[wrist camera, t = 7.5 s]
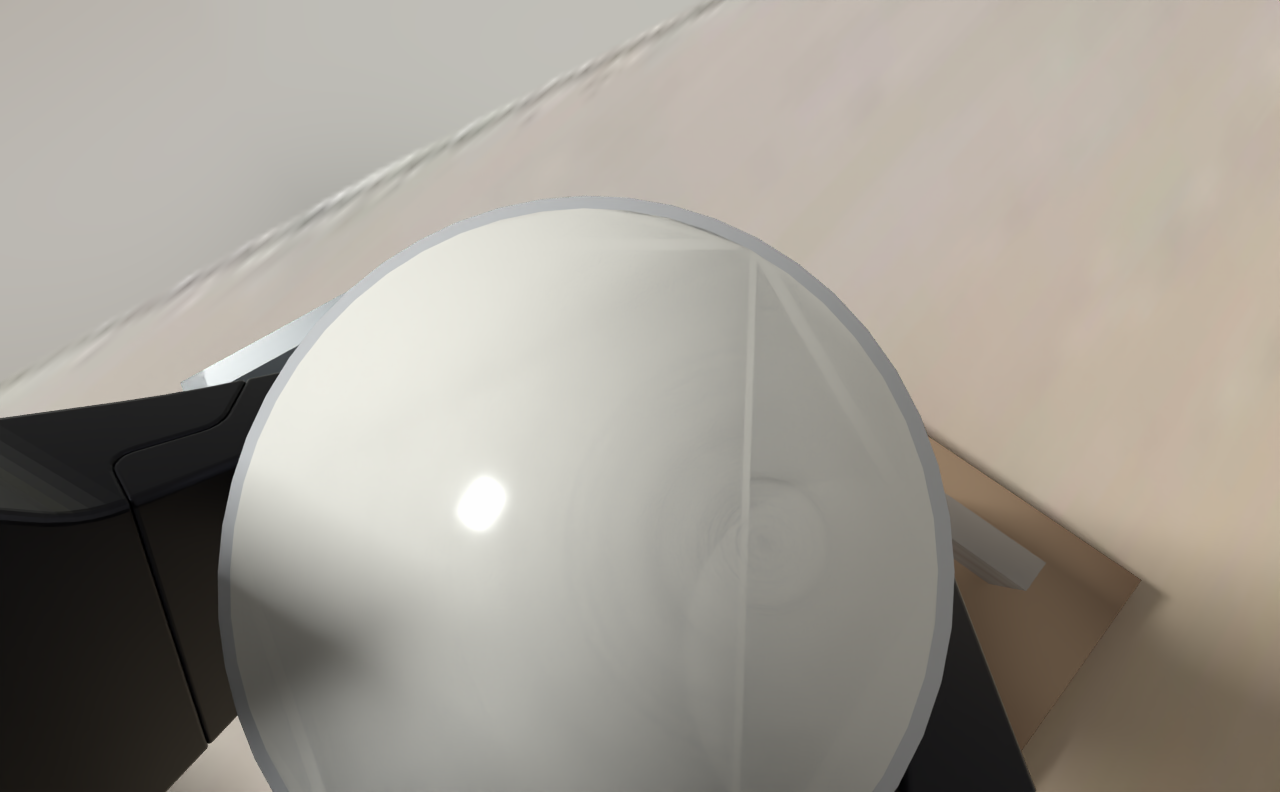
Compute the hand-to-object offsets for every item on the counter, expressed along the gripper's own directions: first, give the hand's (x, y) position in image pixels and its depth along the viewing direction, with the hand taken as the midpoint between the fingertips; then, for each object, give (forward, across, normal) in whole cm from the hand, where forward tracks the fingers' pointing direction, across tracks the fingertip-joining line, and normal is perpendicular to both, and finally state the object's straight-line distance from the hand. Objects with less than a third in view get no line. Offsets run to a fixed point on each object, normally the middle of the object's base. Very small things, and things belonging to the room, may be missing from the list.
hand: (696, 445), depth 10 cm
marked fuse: (+3, 0, +5) cm, 6 cm away
